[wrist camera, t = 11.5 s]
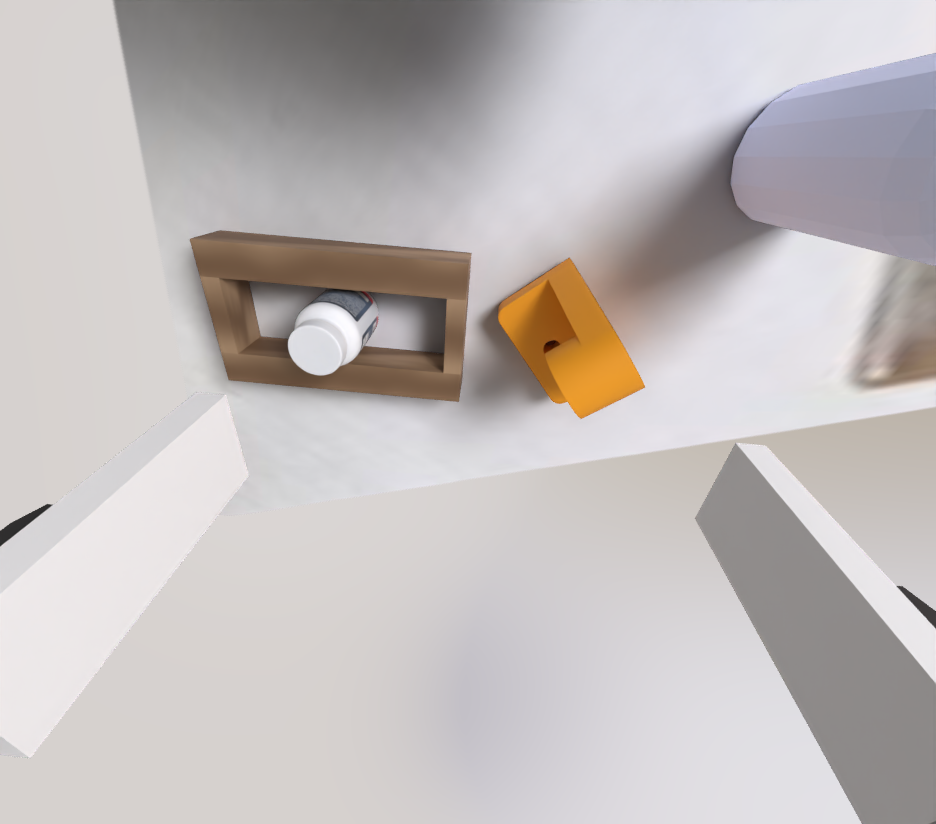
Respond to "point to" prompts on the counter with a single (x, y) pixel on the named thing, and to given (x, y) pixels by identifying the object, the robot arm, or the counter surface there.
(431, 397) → the brown open rectangular frame
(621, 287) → the counter surface
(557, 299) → the bracket
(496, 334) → the counter surface
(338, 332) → the pill bottle
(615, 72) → the counter surface
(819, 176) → the soap bottle
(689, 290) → the counter surface
